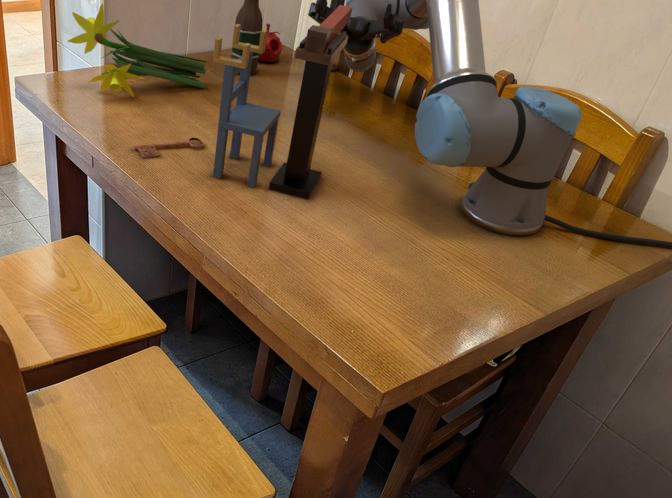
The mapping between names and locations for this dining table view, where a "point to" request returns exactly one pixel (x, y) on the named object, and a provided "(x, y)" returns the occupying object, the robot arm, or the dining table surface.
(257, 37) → the beer bottle
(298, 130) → the stand
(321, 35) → the hanger bar
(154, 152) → the key
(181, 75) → the daffodil flowers
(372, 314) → the dining table surface
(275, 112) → the chair
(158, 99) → the dining table surface
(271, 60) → the pomegranate
